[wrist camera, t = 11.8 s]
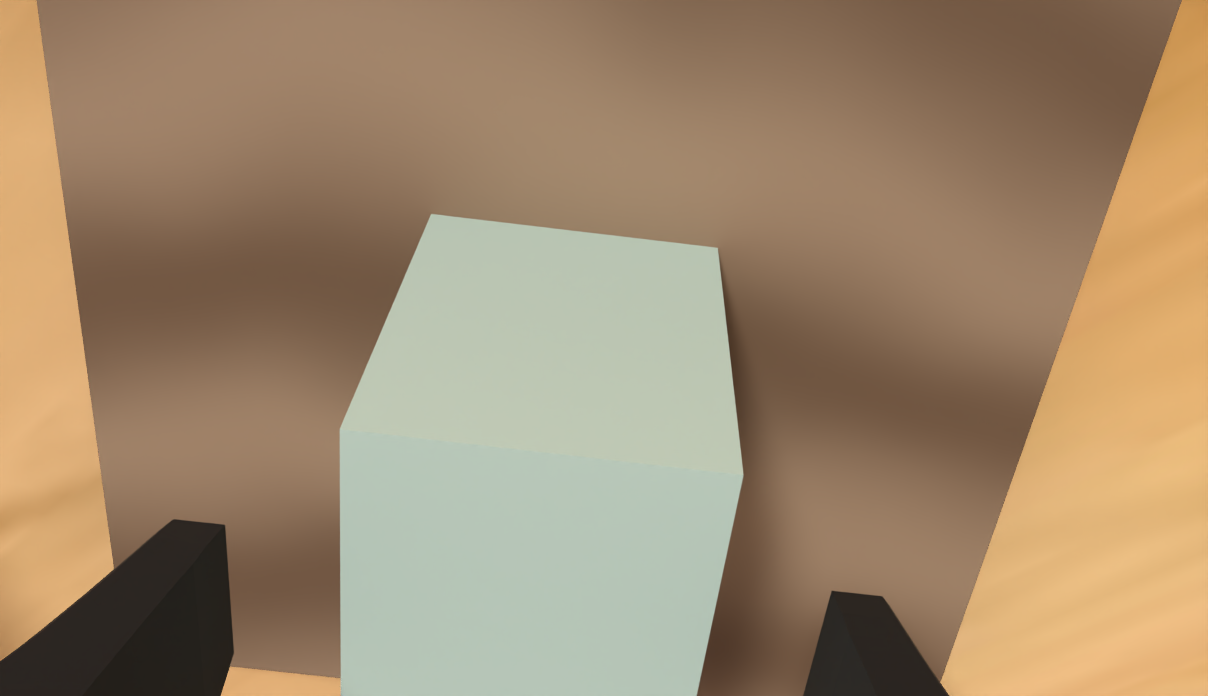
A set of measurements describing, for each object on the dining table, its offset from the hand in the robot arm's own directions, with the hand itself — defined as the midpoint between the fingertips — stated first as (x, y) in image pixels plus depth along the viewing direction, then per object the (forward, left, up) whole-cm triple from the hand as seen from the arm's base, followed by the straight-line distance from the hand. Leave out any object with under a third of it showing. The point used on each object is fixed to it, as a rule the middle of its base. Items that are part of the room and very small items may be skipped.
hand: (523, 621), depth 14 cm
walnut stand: (0, 0, -8) cm, 8 cm away
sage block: (0, 0, -6) cm, 6 cm away
